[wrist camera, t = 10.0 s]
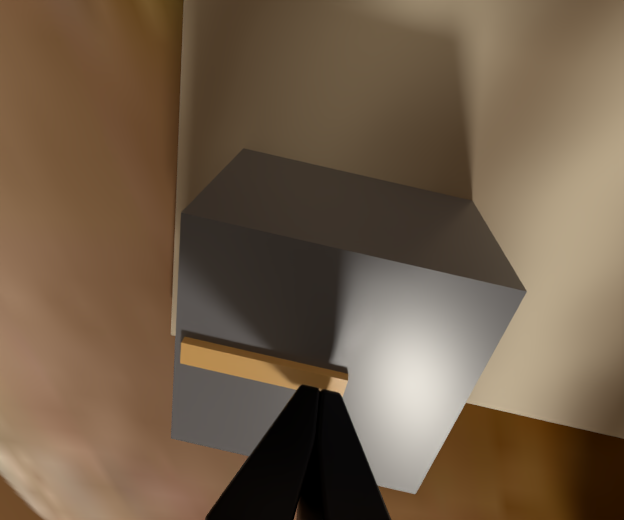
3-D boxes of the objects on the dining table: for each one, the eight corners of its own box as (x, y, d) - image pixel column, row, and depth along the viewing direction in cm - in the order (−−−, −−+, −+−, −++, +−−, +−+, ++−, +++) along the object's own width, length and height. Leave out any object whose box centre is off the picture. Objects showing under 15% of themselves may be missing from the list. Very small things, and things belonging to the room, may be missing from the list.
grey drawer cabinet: (472, 200, 12) (530, 298, 7) (402, 369, 15) (415, 501, 11) (243, 148, 12) (177, 216, 7) (222, 328, 15) (167, 445, 11)
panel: (1464, -486, 6) (1647, -571, 5) (645, 424, 16) (661, 447, 15) (239, -770, 6) (218, -901, 5) (181, 317, 16) (170, 334, 15)
